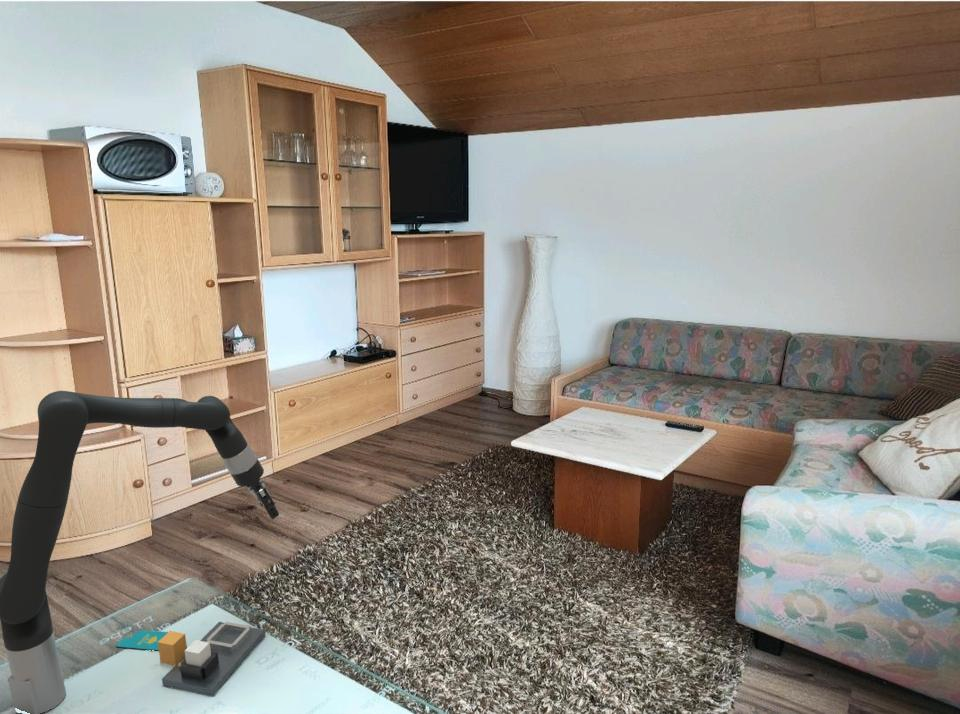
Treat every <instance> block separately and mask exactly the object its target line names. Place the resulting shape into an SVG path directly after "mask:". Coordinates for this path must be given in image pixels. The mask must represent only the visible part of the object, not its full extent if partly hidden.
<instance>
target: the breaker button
mask: <svg viewBox="0 0 960 714" xmlns="http://www.w3.org/2000/svg"><path fill="white" fill-rule="evenodd" d="M185 657H186V664H188V665H193V666H198V667H201V666H202V665H203V664H204V663H205V662H206V661H207V660H208V659H209V658H210V657H211V650H210V643H209V642H203V641H200V640H199V639H198V640H196V639H195V640H194V641H193V642H192V643H190V645H189V646H187V649H186V650H185Z"/></svg>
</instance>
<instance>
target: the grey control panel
mask: <svg viewBox="0 0 960 714" xmlns="http://www.w3.org/2000/svg"><path fill="white" fill-rule="evenodd" d="M265 637H266V629H263V628H257V627H251V625H246V624H241V623H235V622H230V621H225V622H222V621H218V622H217V623H216V624H215V625H214V626H213V627H212V628H211V629H210V630H209V631H208V632H207V633H206V634H205V635H204V636H203V637H202V638H201V639H200V640H199V641H203V642H209V643H210V650H211V657H210V658H209V659H208V660H207V661H206V662H205V663H204V664H203V665H202V666H201V667H198V666H193V665H188V664H186V657H185V656H184V657H183V658H182V659H181V660H180V661H179V662H178V663H177V664H176V665H173V667H172V668H171V669H170V670H169V671H168V672H167V673H166V674H165V675H164V676H163V677H162V678H161V682H162V687H165V688H166V687H167V688H172V689H176V690H181V691H187V692H189V693H190V692H191V693H196V694H200V695H204V696H210V697H214V696H215V695H216V694H217V692H218V691H219V690H220V689H221V688H222V687H223V686H224V685H225V683H226V682H227V681H228V680H229V679H230V678H231V676H232V675H233V674H234V673H235V672H236V671H237V670H238V669H239V667H240V666H241V665H242V664H243V663H244V662H245V661H246V660H247V658H248V657H249V656H250V655H251V654H252V652H253V651H254V650H255V649H257V647H258V645H259V644H260V643H261V642H262V641H264V639H265Z"/></svg>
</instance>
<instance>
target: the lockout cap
mask: <svg viewBox="0 0 960 714" xmlns="http://www.w3.org/2000/svg"><path fill="white" fill-rule="evenodd" d="M167 632H168V633H167V634H166V635H165V636H164V637H163V638H162V639H161V640H160V641H159V642H158V648H159V652H158V653H159V661H160V663H161V664H165V663H166V664H167V665H170V664H171V665H170V666H175V665H176V664H177V663H178V662H179V661H180V660H181V659H182V658H183V657H184V656H185V650H186V649H187V648H188V645H187V639H186V638H187V637H186V633H184V632H183V633H182V632H177V631H171V630H169V631H167Z"/></svg>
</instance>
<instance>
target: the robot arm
mask: <svg viewBox="0 0 960 714" xmlns="http://www.w3.org/2000/svg"><path fill="white" fill-rule="evenodd" d="M37 417H38V432H37V433H38V436H37V444H36V449H35V455H34V459H33V461H32V464H31V467H30V468H29V470H28V472H27V474H26V476H25V478H24V480H23V483H22V486H21V488H20V491H19V494H18V498H17V502H16V506H15V511H14V515H13V522H12V530H11V541H10V543H11V544H10V547H11V548H10V558H9V559H10V560H9V565H8V568H7V571H6V573H5V574H3V575H2V576H1V577H0V625H1V631H2V632H1V634H2V639H3V643H4V647H5V648H4V649H5V652H6V656H7V660H8V666H9V669H10V676H9V677H7V682H8V686H9V690H10V691H9V692H10V694H11V699H12V704H13V707H14V708H17V709H19V710H21V711H25V712H27V713H30V714H40V713H43V712H45V711H47V712H49V711H51V710H53V709H55V708H56V707H58V706H59V705H60V704H61V703H62V702H63V700H64V699H65V697H66V694H67V690H66V686H65V685H66V684H65V681H64V675H63V671H62V667H61V662H60V657H59V652H58V647H57V644H56V643H57V642H56V637H55V632H54V628H53V622H52V616H51V610H50V606H49V601H48V600H49V599H48V595H47V590H46V589H47V588H46V586H47V580H48V579H47V578H48V572H49V566H50V562H51V561H50V560H51V559H52V558H51V557H52V554H53V553H54V552H53V551H54V548H55V546H56V543H57V540H58V538H59V537H58V536H59V533H60V529H61V527H62V523H63V520H64V517H65V513H66V508H67V505H68V499H69V494H70V489H71V482H72V476H73V466H74V461H75V457H76V454H77V451H78V449H79V446H80V443H81V440H82V438H83V435H84V433H85V430H86V427H87V425H90V424H117V425H118V424H119V425H126V426H127V425H128V426H132V427H133V426H134V427H140V428H152V429H155V428H185V429H194V430H204V431H205V432H206V433H207V434H208V436H209V438H210V439H211V441H212V443H213V446H214V447H215V448H216V450H217V452H218V454H219V455H220V457H221V459H222V461H223V464H224V465H225V467H226V469H227V471H228V472H229V474H230V476H231V477H232V479H233V481H234V482H235V484H236V485H237V486H238V487H242V488H243V487H246V488H247V490H248V491H249V492H250V494H251V495H253V497H254V498H255V499H256V501H257V503H259V505H260V506H261V508H262V507H263V509H264V510H266V512H267V513H268V515H269V517H270V518H271V520H274V519H276V518H277V517H279V515H280V513H279V511H278V510H277V508H276V502H274V501H273V499H272V497H271V493H270V491H269V490H268V489H267V487H266V483H264V481H263V480H262V479H261V478H262V477H263V475H264V472H265V469H264V468H263V466H262V464H261V462H260V460H259V459H258V457H257V456H256V454H255V452H254V450H253V448H252V447H251V446H250V445H249V444H248V442H247V440H246V439H245V437H244V435H243V432H242V431H240V429H239V428H238V427H237V426H236V424H235V423H234V422H233V420H232V418H231V412H230V409H229V407H228V406H227V405H226V404H225V402H223V401H222V400H221V399H220V398H219V397H216V396H214V395H205V396H202V397H200V398H199V399H198V400H197V401H188V400H185V399H184V398H177V397H176V398H175V397H121V396H119V397H116V396H106V395H94V394H87V393H82V392H81V393H80V392H77V391H76V392H74V391H70V390H68V391H67V390H56V391H52V392H51V393H50V392H49V393H48V394H47V395H45V396H44V397H43V398H42V399H41V400H40V401H39V403H38V405H37ZM50 709H51V710H50ZM48 710H49V711H48ZM45 713H46V712H45ZM43 714H44V713H43Z"/></svg>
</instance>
